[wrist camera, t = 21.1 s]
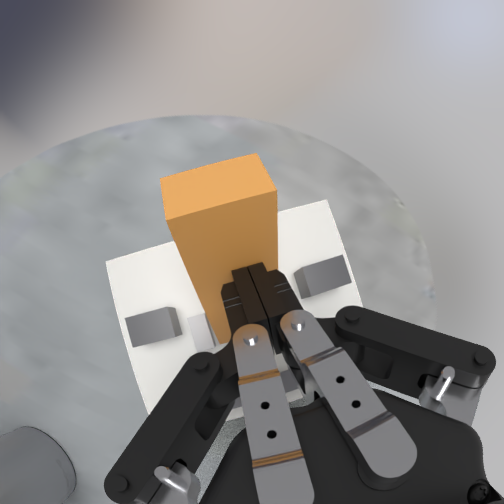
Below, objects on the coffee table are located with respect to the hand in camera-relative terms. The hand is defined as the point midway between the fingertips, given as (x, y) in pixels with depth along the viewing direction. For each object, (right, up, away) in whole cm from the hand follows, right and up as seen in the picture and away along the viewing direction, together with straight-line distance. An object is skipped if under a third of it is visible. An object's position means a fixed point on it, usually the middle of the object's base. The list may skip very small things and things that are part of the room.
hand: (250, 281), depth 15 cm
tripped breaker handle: (0, -3, +6) cm, 7 cm away
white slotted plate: (-1, -5, +13) cm, 14 cm away
